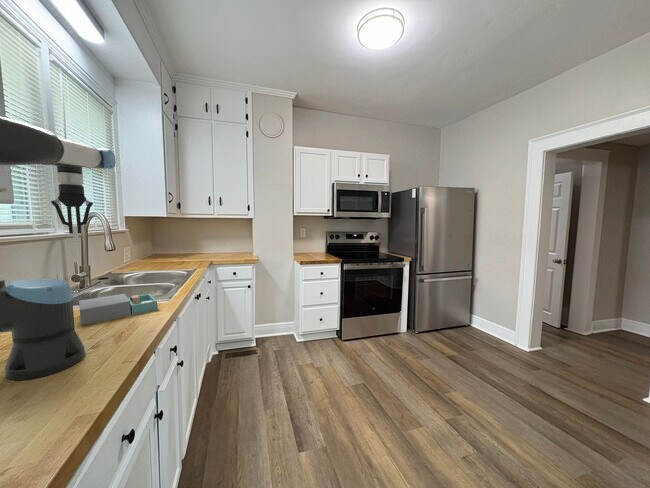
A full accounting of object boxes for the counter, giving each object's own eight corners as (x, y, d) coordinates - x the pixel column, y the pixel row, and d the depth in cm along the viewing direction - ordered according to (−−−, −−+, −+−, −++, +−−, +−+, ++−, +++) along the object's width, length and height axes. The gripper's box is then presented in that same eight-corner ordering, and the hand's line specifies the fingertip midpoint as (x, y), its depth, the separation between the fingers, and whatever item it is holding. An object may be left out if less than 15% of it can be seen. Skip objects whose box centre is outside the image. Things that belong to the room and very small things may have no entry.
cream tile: (153, 302, 115) (154, 307, 116) (151, 300, 118) (151, 305, 118) (142, 304, 113) (143, 309, 113) (140, 301, 115) (141, 307, 116)
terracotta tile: (132, 298, 116) (139, 296, 118) (131, 296, 119) (138, 294, 120) (133, 306, 116) (140, 305, 118) (131, 304, 119) (138, 303, 121)
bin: (132, 315, 109) (131, 305, 109) (126, 306, 119) (126, 297, 119) (157, 309, 115) (157, 301, 115) (150, 302, 125) (149, 293, 125)
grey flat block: (81, 325, 98) (80, 309, 98) (80, 314, 108) (78, 300, 108) (130, 315, 109) (129, 301, 108) (125, 306, 119) (124, 293, 118)
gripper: (91, 186, 116) (95, 240, 119) (49, 183, 107) (54, 241, 110) (92, 185, 111) (97, 241, 113) (47, 182, 102) (53, 243, 104)
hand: (76, 241), depth 111 cm, fingers closed
